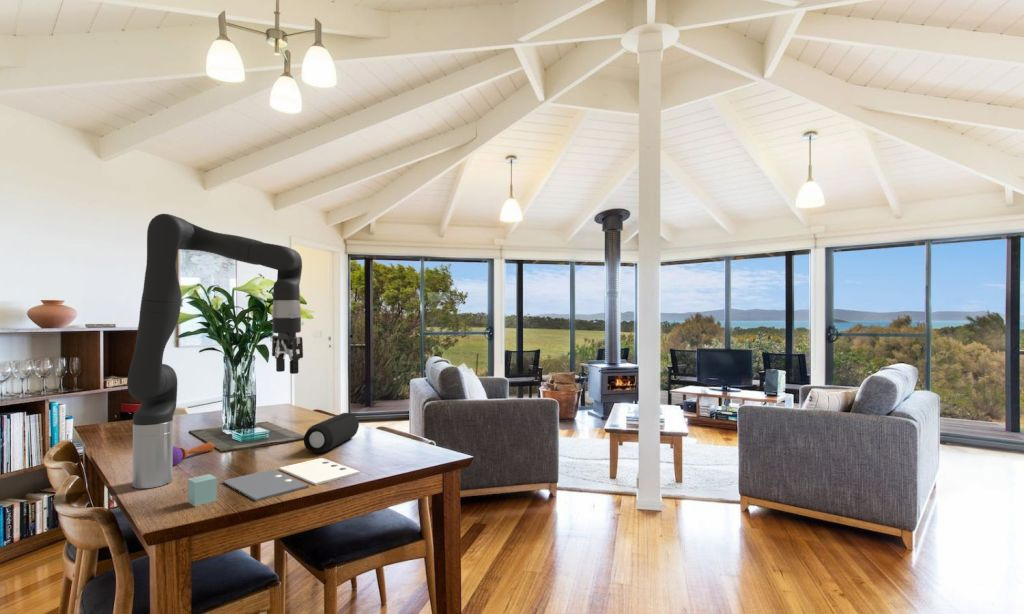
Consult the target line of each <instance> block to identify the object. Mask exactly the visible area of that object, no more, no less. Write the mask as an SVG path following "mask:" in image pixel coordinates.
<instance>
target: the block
mask: <svg viewBox="0 0 1024 614" xmlns="http://www.w3.org/2000/svg"><path fill="white" fill-rule="evenodd" d="M214 501H217V502H218V478H217V477H216V476H214V475H212V474H210V473H207V474H203V475H199V476H195V477H190V478H188V479H187V503H188V502H189V503H191V504H193V505H194V506H197V505H201V504H205V503H210V502H214ZM189 503H188V504H189ZM214 503H215V502H214ZM191 504H190V505H191ZM210 504H211V503H210ZM194 506H193V507H194Z"/></svg>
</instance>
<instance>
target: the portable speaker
mask: <svg viewBox="0 0 1024 614" xmlns="http://www.w3.org/2000/svg"><path fill="white" fill-rule="evenodd" d="M359 426H360V423H359V419H358V418H357V417H356V415H354V414H352V413H349V412H342V413H339V414H337V415H335V416H332V417H330V418H328V419H325V420H323V421H321V422H318V423H316V424H313V425H311V426H310V427H309V428H308V429H307V430H306V432H305V434H304V436H303V444H304V447H305V448H306V450H307V451H309V452H311V453H314V454H323V453H326V452H327V451H330V450H331V449H333V448H335V447H337V446H339V445H341V444H342V443H344V442H346V441H348V440H350V439H352V438H353V437H355V436H356V434H357V433H358V431H359Z"/></svg>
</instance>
